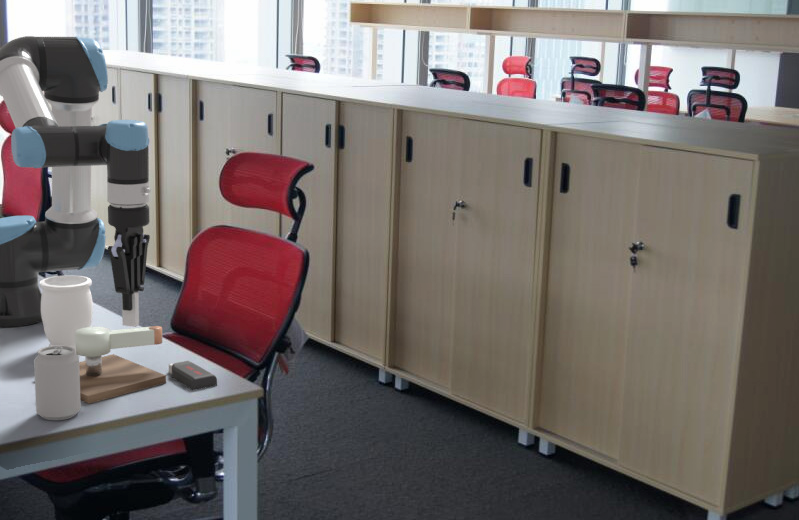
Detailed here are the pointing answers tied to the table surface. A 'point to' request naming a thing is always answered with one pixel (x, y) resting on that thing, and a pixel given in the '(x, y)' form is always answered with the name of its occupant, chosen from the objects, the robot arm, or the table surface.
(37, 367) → the can
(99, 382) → the base plate
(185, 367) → the usb drive
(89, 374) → the stud
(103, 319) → the table surface
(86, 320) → the jar
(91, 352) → the tan-tipped lever stick
